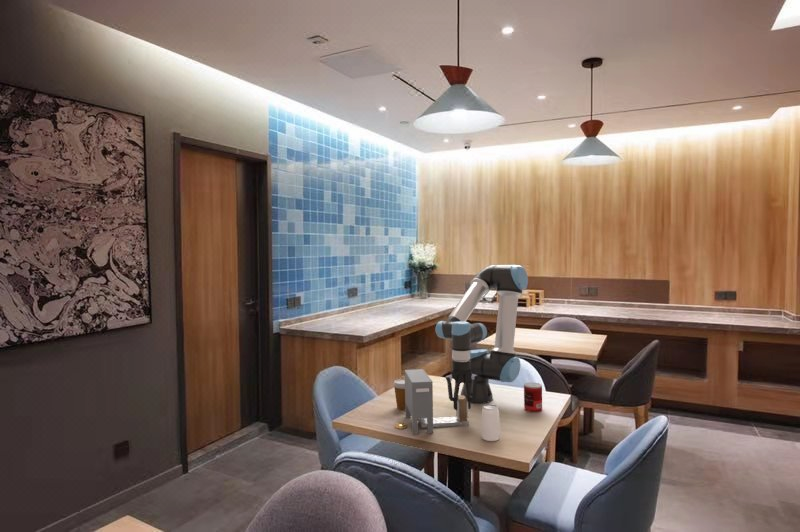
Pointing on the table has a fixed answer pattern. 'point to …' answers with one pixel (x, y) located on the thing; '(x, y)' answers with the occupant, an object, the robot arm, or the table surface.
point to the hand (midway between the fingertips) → (462, 417)
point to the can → (490, 422)
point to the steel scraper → (451, 420)
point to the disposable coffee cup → (400, 393)
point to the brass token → (400, 425)
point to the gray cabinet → (419, 398)
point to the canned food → (533, 397)
